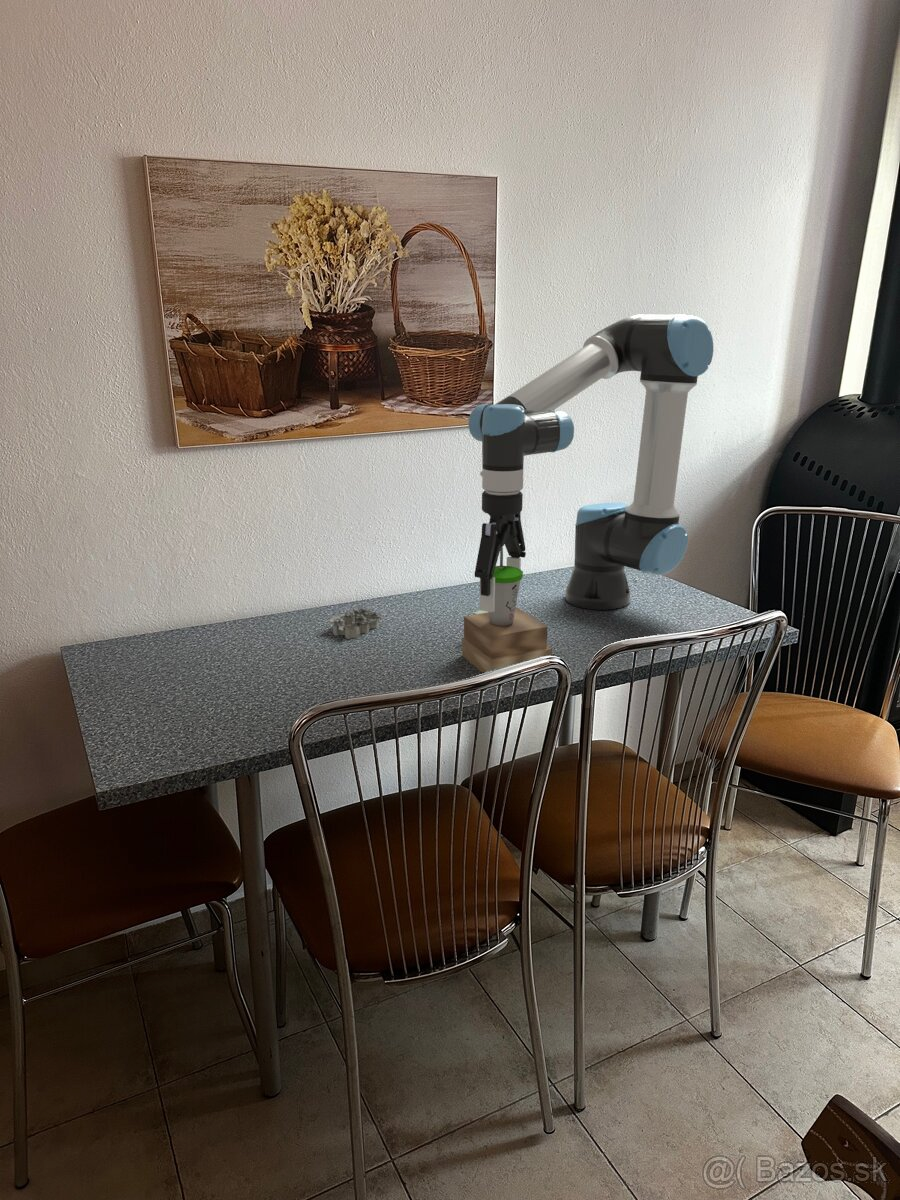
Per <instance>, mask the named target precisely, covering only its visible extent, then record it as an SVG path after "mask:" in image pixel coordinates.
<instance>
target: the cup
mask: <svg viewBox="0 0 900 1200" xmlns="http://www.w3.org/2000/svg"><path fill="white" fill-rule="evenodd" d="M493 577H494V578H495V611H494V612H488V613H489V621H490V623H491V624H492V625H495V626H501V627H504V626H509V625H512V624H513V620H514V614H515V608H516V607H517V601H518V595H519V591H520V590H519V584H520V585H521V580H522V579H523V577H524V571H523V570H520V569H519V568H515V567H511V566H506V565H504V546H502V547H501V549H500V553H499V565H496V567H495V571H494V574H493ZM518 590H519V591H518Z"/></svg>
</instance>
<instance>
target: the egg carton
mask: <svg viewBox="0 0 900 1200" xmlns="http://www.w3.org/2000/svg"><path fill="white" fill-rule="evenodd" d="M382 617H383V615H382V614H380V615H378V614H377V612H376V611H372V610H370V609H367V608H363V607H362V606H360V605H358V606H356V607H355V608H354V609H353V610H349V611H345V612H344V613H343V614H340V615H338V616H333V617H331V618H330V620H329V623H328V625H332V634H333V635H334V636H337V637H338V636H345V637H344V638H345V639H348V640H349V639H357V638H360V636H361V634H368V633H369V632H370V630H371V629H372V630H373V629H379V628H380V626H379V621H380V620H381V619H382Z"/></svg>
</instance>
